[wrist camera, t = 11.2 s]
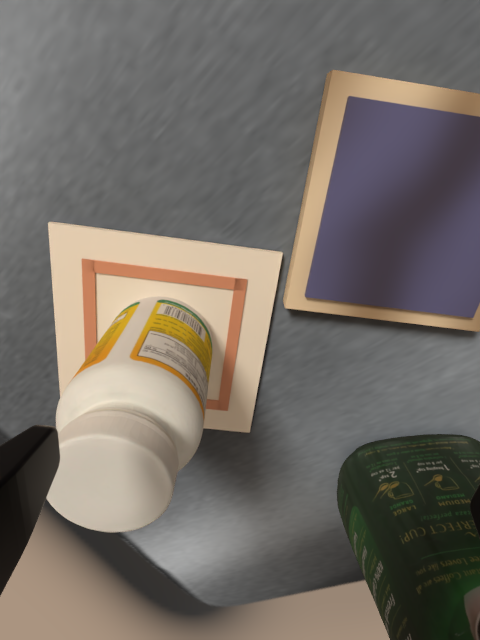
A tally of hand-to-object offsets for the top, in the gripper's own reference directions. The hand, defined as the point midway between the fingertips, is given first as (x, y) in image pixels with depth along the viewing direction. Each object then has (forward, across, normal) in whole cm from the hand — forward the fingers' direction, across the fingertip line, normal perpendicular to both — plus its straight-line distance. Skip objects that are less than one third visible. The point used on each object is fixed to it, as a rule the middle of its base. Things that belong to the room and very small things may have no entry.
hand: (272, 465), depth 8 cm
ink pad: (+12, -6, -4) cm, 15 cm away
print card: (+12, +4, +4) cm, 14 cm away
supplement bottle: (+12, +4, +4) cm, 13 cm away
